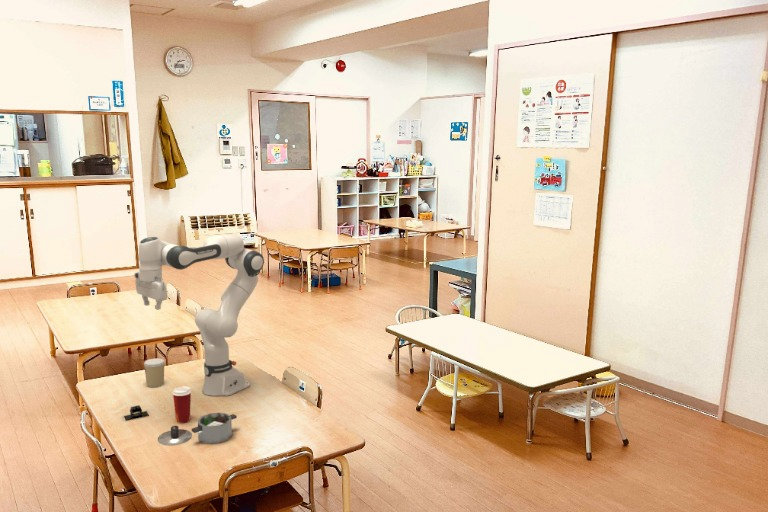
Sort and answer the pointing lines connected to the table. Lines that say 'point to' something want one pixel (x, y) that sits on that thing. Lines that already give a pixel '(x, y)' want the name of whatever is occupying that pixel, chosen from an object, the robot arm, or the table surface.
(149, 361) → the coffee cup
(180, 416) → the paper cup
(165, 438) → the lid
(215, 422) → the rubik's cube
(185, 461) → the table surface
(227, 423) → the pot
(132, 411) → the black stepped block
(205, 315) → the robot arm
